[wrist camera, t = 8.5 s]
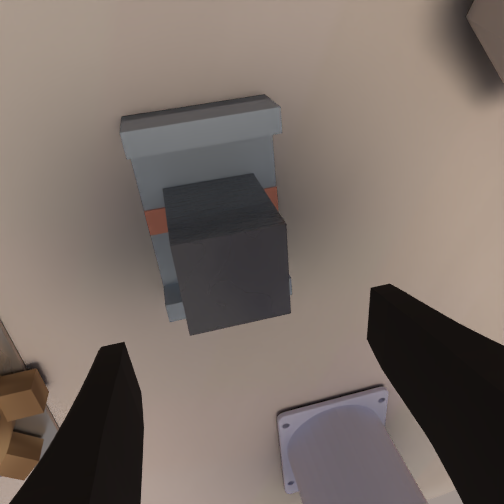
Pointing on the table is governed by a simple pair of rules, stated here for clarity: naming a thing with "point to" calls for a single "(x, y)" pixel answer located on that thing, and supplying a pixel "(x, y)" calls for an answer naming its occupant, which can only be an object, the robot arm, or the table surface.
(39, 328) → the table surface
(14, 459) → the sprocket
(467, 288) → the table surface
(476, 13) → the grey faceted polyhedron
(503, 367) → the robot arm
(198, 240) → the dark grey block
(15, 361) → the thin square base plate
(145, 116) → the seat
